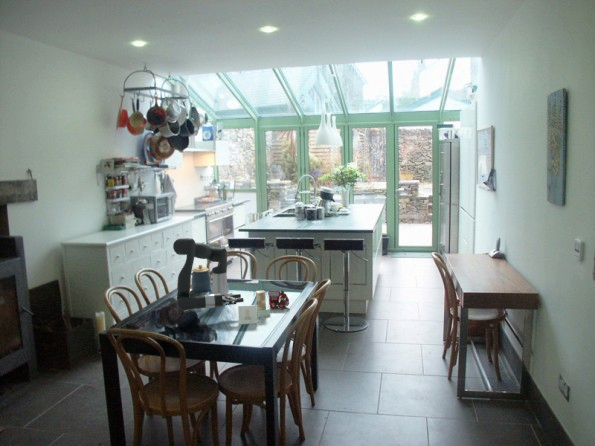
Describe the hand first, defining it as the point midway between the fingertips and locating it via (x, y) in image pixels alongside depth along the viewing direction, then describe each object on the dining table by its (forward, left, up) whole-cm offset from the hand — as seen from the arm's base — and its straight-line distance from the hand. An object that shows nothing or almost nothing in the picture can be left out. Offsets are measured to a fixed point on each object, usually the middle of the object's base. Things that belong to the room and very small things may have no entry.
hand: (242, 297), depth 281 cm
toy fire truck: (+9, +24, -11) cm, 28 cm away
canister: (-60, +35, -11) cm, 70 cm away
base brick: (+7, +8, -11) cm, 16 cm away
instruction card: (+9, -8, -11) cm, 17 cm away
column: (+8, +8, -7) cm, 13 cm away
